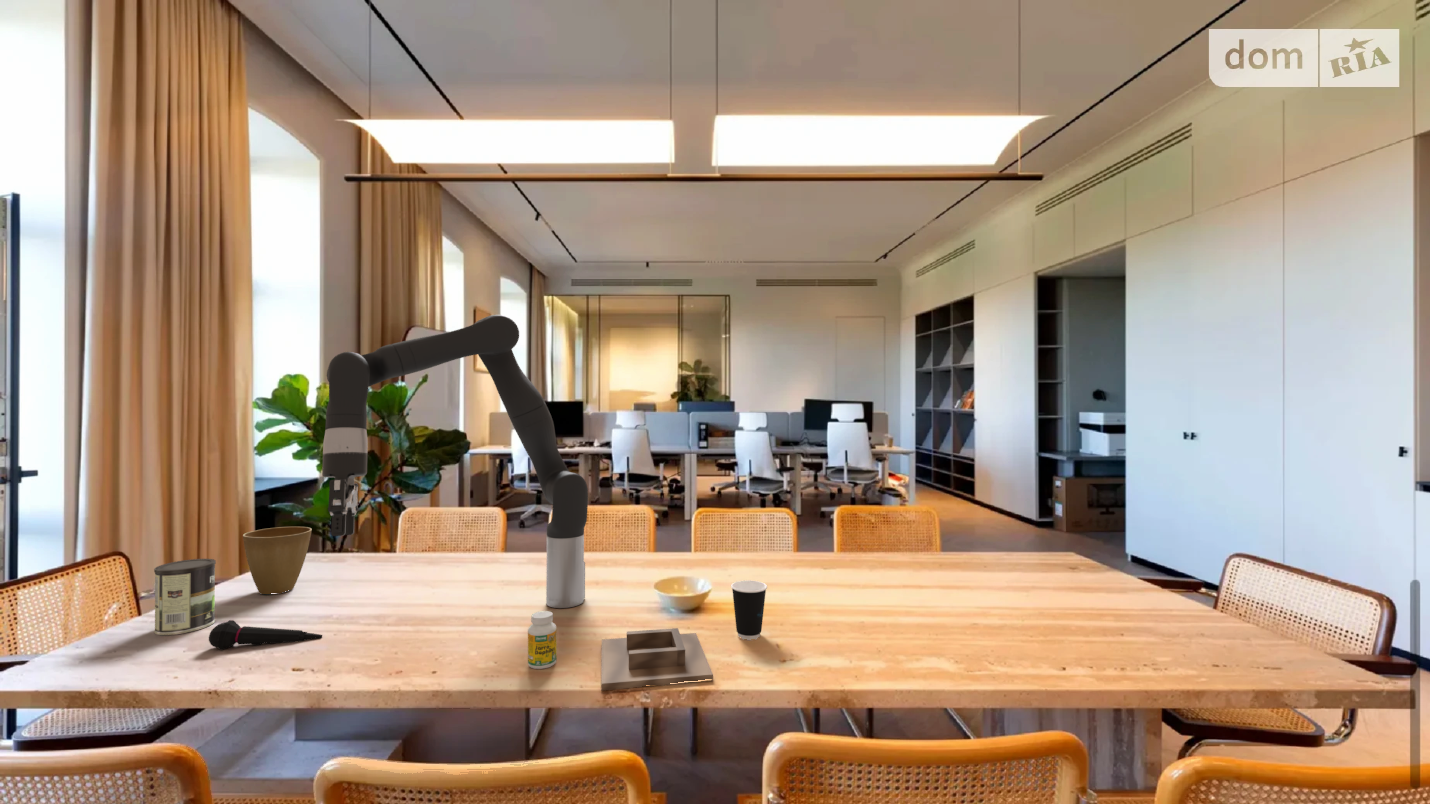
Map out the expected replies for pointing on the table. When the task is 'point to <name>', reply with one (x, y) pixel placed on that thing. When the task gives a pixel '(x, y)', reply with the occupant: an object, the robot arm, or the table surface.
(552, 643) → the supplement bottle
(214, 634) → the microphone
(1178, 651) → the table surface
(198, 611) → the coffee can
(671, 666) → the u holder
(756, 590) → the dixie cup
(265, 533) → the plant pot
